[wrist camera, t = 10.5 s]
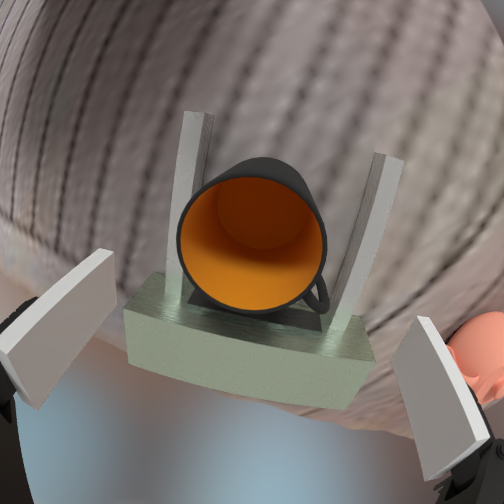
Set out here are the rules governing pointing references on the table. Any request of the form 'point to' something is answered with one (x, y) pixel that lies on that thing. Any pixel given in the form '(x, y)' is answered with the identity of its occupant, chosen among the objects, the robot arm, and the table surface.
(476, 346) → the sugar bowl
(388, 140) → the table surface
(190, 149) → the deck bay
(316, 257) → the mug
